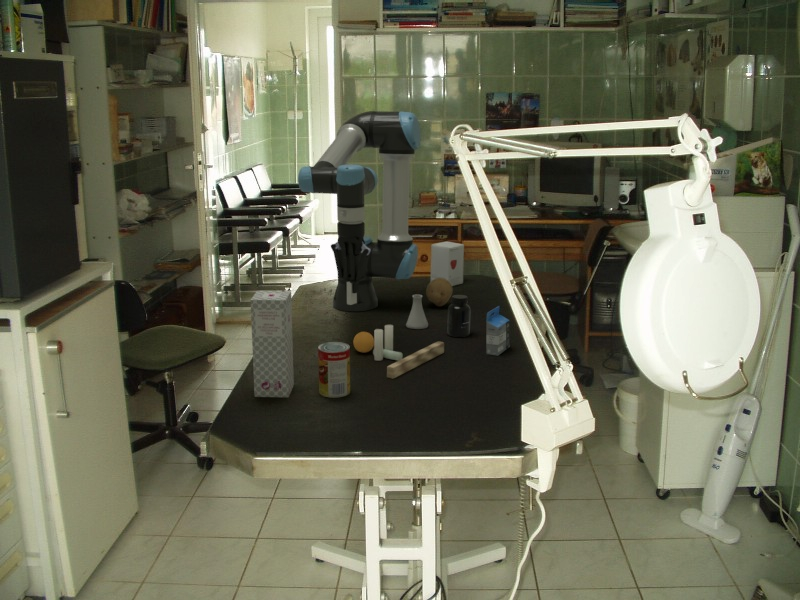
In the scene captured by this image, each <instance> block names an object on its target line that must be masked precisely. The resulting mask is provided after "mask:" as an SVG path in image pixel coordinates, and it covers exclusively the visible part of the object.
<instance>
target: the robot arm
mask: <svg viewBox="0 0 800 600" xmlns="http://www.w3.org/2000/svg"><path fill="white" fill-rule="evenodd" d="M421 141H422V135H421V127H420V122H419V119H418V117H417V115H416V114H415V113H413V112H410V111H402V110H401V111H388V110H387V111H384V110H381V111H380V110H379V111H375V110H367V111H364V112H361V113H359V114H356V115H354V116H352V117H351V118H349V119H348V120H346V121H345V122H344V123H343V124H342V125H341V126H340V127H339V129H338V130H337V132H336V137H335V138H334V140H333V141H332V142H331V143H330V145H329V146H328V148H327V149H326V150H325V152H324V153H323V154H322V155H321V156H320V158H319V159H318V161H317V162H315V164H314V165H313V166H311V165H308V166H303V167H302V166H301V168H300V169H299V172H298V176H297V183H298V187H299V190H300V191H301V192H303V193H310V194H331V195H332V194H333V195H336V196H337V197H336V201H337V202H336V203H337V204H336V206H337V208H336V209H337V221H338V223H337V235H338V238H337V242H335V243H331V244H330V248H331V250H332V252H333V256H334V261H335V266H336V270H337V271H336V272H337V285H336V289H335V292H334V294H333V298H332V306H333V308H334V309H337V310H339V311H345V312H365V311H369V310H370V311H371V310H373V309H376V308H377V307H378V302H379V301H378V297H377V293H376V291H375V287H374V285H373V278H380V279H381V278H382V279H383V278H384V279H394V280H407V279H410V278H411V277H412V276H413V274H414V271H415V269H416V266H417V262H418V256H419V249H418V245H417V244H415V243H414V242H413V239H414V238H413V237H412V236H411V234H409V212H410V209H409V207H410V205H409V203H410V171H411V169H410V168H411V160H412V158H413V157H414V156H415V155H416V153H415V151H417V150H418V149H419V148H420V147H421ZM366 148H367V149H368V148H369V149H370V148H371V149H373V148H374V149H378V155H379V156H380V157H381V158H382V160H383V161H382V164H383V165H382V168H383V169H382V214H381V215H382V221H381V229H382V231H381V234H380V235H379V236H377V239H376V240H377V241H376V242H374V241H373V240H374V239H373V238H372V237H371V236H367V235H366V236H365V231H366V230H365V229H366V228H365V226H366V225H365V222H364V221H365V216H366V215H365V212H366V211H365V196H366V195H368V194H370V193H372V192H373V191H374V190H375V189H376V187H377V186H378V182H379V181H378V180H379V178H378V174H377V173H376V172H375V171H374V169H372V168H370V167H367V166H364V167H363V166H362V165H360V164H349V162H351V160H352V158H353V157H354V155H355V154H356V153H358V152H360V151H361V150H363V149H366Z"/></svg>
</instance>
